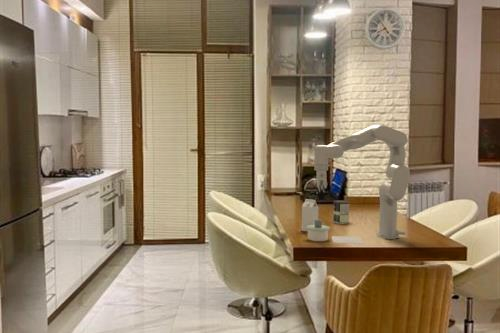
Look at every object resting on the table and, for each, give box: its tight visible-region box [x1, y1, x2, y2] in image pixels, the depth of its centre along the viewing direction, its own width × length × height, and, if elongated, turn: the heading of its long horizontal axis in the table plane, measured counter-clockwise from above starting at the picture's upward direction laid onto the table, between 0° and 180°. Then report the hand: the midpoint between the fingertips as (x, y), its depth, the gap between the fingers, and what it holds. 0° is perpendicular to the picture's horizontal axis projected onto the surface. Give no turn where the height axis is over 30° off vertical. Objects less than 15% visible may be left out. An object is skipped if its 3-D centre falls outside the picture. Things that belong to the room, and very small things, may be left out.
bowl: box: [307, 230, 329, 242], centre depth 272 cm, size 11×11×6 cm
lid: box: [306, 218, 331, 232], centre depth 271 cm, size 13×13×5 cm
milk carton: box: [301, 198, 319, 233], centre depth 294 cm, size 7×7×19 cm
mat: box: [331, 235, 364, 245], centre depth 270 cm, size 16×16×1 cm
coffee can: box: [332, 199, 350, 225], centre depth 323 cm, size 10×10×14 cm
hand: (321, 198), depth 272 cm, fingers open, 9 cm apart
